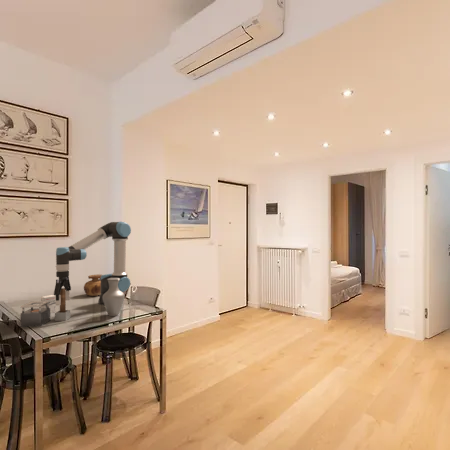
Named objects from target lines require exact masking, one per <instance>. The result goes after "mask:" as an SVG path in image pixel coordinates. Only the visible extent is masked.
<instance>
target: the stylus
mask: <svg viewBox="0 0 450 450" xmlns="http://www.w3.org/2000/svg"><path fill="white" fill-rule="evenodd" d="M66 302H67V301H66V289H65V288H64V287H62V289H61V292H60V304H61V305H59V310H60V313H65V312H66V310H67V307H66V306H67V305H66Z"/></svg>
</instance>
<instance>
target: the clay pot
mask: <svg viewBox="0 0 450 450" xmlns="http://www.w3.org/2000/svg"><path fill="white" fill-rule="evenodd" d="M102 275H103V274H100V273H99V274H90V275H87V276H88V279H89V280H88V281H87V282H85V283H84V285H83V291H84V293H85V294H86V295H88V296H90V297H97V296H98V295H99V296H100V294H101V281H100V279H101V276H102Z"/></svg>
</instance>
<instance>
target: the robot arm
mask: <svg viewBox="0 0 450 450" xmlns="http://www.w3.org/2000/svg"><path fill="white" fill-rule="evenodd" d="M131 232H132V228H131V226H130V224H129V223H127V222H125V221H111V222H108V223H106V224H104V225H102V226H101V227H98V228H97V230H96V231H94V232H92V233H91V234H89V235H87V236H86V237H84V238H82V239H80V240H79V241H76V242H75V243H73V244H71V245H70V246H64V247H62V246H60V247H56V251H55V263H56V264H55V268H56V269H55V271H56V272H55V273H56V274H55V277H57V278H58V279H55V286H54V291H53V295H55V296H56V307H57V306H60V305H61V304H60V292H61V289H62V288H65V289H66V302H67V301H70V291H72V287H71V283H70V262H72V261H74V262H75V261H83V260H85V259H86V258H87V254H88V253H87V251H86V249H88V248H90V247H92V246H93V245H94V244H97V243H99V242H100V241H102V240H106V239H108V238H111V239H112V241H113V272H112V273H108V274H107V273H106V274H101V275H102V276H101V279H100V278H99V279H100V281H101V294H100V295H99V298H98V303H97V304H98V305H101V306H102V305H103V306H105V305H104V302H103V298H102V297H103V295H104V294H105V293H106V292H107V291H108V290H109V282H108V280H107V279H109V278H120V280H119V282H118V288H119V290H120V291H121V292H123V293H124V292H126V291H127V290H128V289H129V288H130V286H131V279H129V277H128V272H126V248H127V247H126V243H127V240H128V239H129V238H128V237H129V236H130V235H131Z"/></svg>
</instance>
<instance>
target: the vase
mask: <svg viewBox="0 0 450 450" xmlns="http://www.w3.org/2000/svg"><path fill="white" fill-rule="evenodd" d="M107 280H108V282H109V290H108V291H107V292H106V293H105V294H104V295H103V297H102V298H103V302H104V305H103V306H104V307H105V310H106V312H107V315H108V316H109V317H117V316H119V315H120V313H121V310H122V307H123V304H124V301H125V293H124V292H121V291H120V290H119V288H118V282H119V280H120V278H109V279H107ZM118 314H119V315H118Z"/></svg>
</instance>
